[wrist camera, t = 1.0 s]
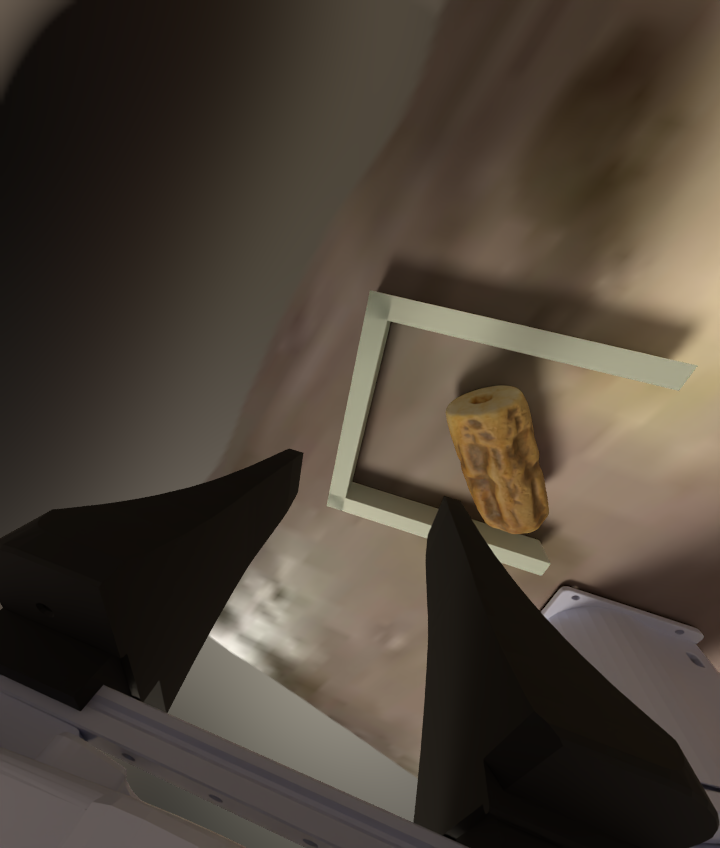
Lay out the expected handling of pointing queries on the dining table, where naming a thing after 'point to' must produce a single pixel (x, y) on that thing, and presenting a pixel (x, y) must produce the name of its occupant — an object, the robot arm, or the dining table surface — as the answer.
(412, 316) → the pale grey flat frame
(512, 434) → the carved stone cylinder
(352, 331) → the dining table surface
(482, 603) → the robot arm
